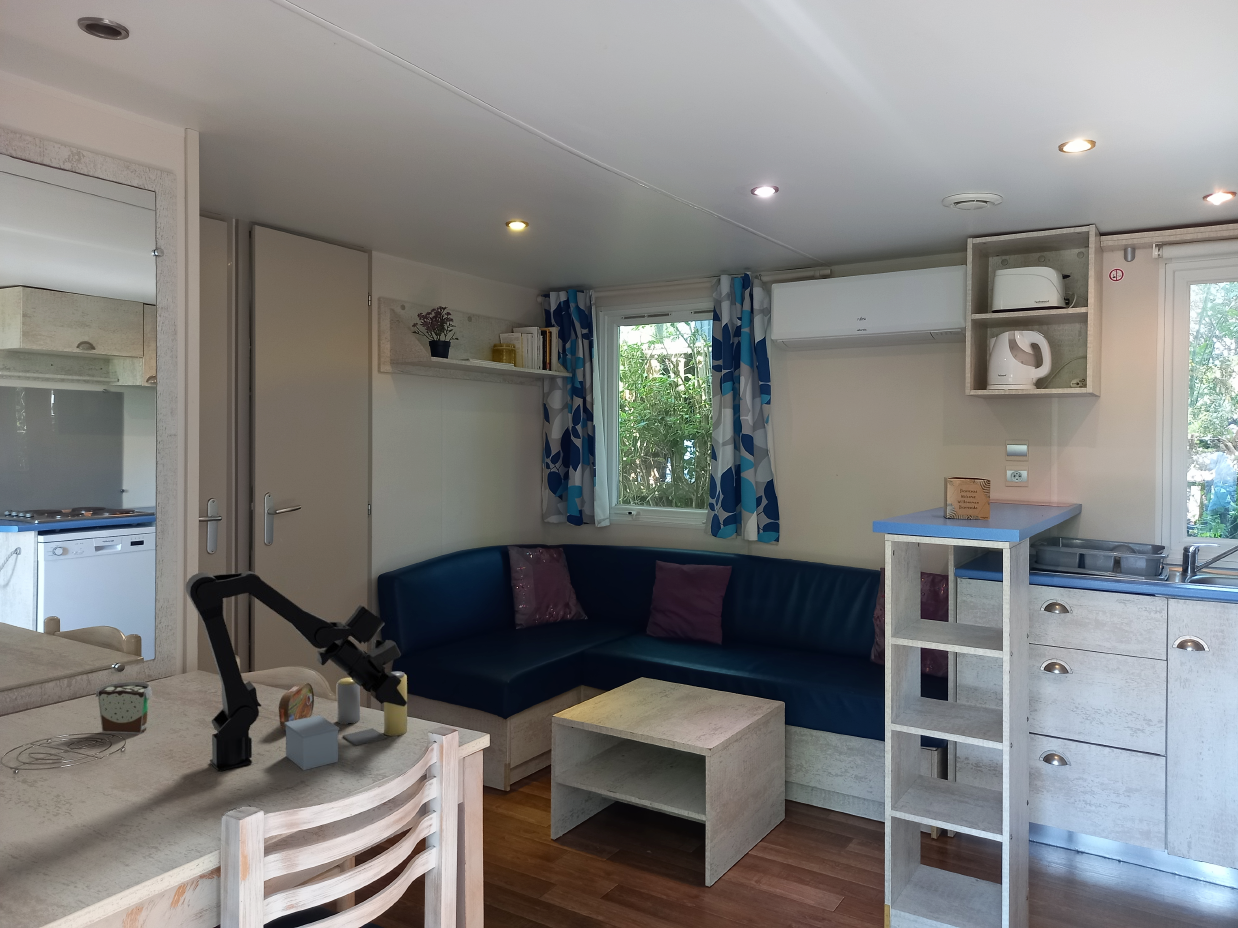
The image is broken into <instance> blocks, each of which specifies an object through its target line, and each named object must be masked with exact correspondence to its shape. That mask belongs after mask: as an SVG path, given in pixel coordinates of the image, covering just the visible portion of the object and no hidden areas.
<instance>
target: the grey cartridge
mask: <svg viewBox="0 0 1238 928" xmlns="http://www.w3.org/2000/svg"><path fill="white" fill-rule="evenodd" d="M336 685H337V686H336V687H337V688H336V689H337V691H336V693H337V695H336V696H337V723H338V724H339V723H340V725H349V724H348V723H353V724H355V723H354V722H357V721H359V720H360V721H361V687H360V686H359V685H358V684H356V683H355V682H354V681H353V680H352V678H351V677H345V678H344V677H343V678H341V679H339V681H338V682H337V684H336ZM360 721H359V722H360ZM357 723H358V722H357Z"/></svg>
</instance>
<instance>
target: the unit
mask: <svg viewBox="0 0 1238 928" xmlns="http://www.w3.org/2000/svg"><path fill="white" fill-rule="evenodd" d="M284 725H285V726H286V730H285V756H286V757H287V759H289V760H291V761H292V762H293V763H294V764H295V765H297V767H299V768H301V769H302V771H307V770H310V769H314V768H317V767H322V766H326V765H330V764H333V763H338V762H339V745H338V744H339V741H338V740H339V739H338V738H339V735H338V734H339V733H338V731H340V727H339V726H337V725H336V724H334V723H332V721H330V720H328V719H326V718H324V716H322V715H320V714H319V715H313V716H310V717H308V718H304V719H299V720H294V721H289V722H285V723H284Z"/></svg>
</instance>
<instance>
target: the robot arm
mask: <svg viewBox="0 0 1238 928" xmlns="http://www.w3.org/2000/svg"><path fill="white" fill-rule="evenodd" d="M185 592H186V594H187V596H188V598H189V599H190V602H191V604H192V606H193V607H194V609H195V610H196V612H197V614H198V616H199V617H200V619H201V621H202V624H203V627H204V631H205V634H206V638H207V641H208V644H209V648H210V650H211V653H212V657H213V660H214V662H215V666H216V670H217V673H218V675H219V679H220V682H221V702H222V703H221V704H222V709H221V710H219V712H218V713H217V714H216V715H215V716H214V717H213V718H212V719H211V723H212V726H213V728H214V730H215V731H216V733H213V734H211V746H212V748H211V749H212V750H211V751H212V752H211V754H212V755H211V756H212V757H211V758H212V759H210V760H209V763H210V765H212V767H214V768H215V769H216V771H218V772H221V771H222V772H223V771H226V770H229V769H233V768H234V769H235V768H238V767H243V766H247V765H252V764H253V760H252V759H251V758H252V757H253V754H252V753H253V751H252V749H253V745H252V742H253V740H252V737H251V736H250V729H251V726H252V725H253V724H254V723H255V722H256V721H257V719H258V717H259V715H260V710H259V707H260V708H261V707H262V704H261V703H260V702H259V700H258V694H257V689H256V688H257V687H256V686H255V685H254V684H253V683H252V682H251V681H247V682H244V680H243V676H242V673H241V671H240V667H239V663H238V660H237V657H236V654H235V650H234V648H233V644H232V640H231V638H230V637H231V636H230V634H229V632H228V631H229V630H228V628H227V624H226V621H225V618H224V599H228V598H232V597H236V596H239V595H244V594H249V595H251V596H252V597H254V598H255V599H257V600H258V601H259V602H260V603H262V604H263V605H265V606H266V607H267V608H269V609H270V610H271V611H273V613H274V612H275V613H276V614H277V615H278V616H280V617H282V618H283V619H284V620H286V621H287V622H288V623H289V624H290V625H291V626H292V627H293V628H294V629H295V630H296V631H297V633H298V634H299V635H300V636H301V637H302V638H303V639H304V640H305V641H306V642H307V643H308V644H310V645H311V646H313V647H314V648H315V649H317V652H316V653H317V660H316V662H318V664H319V665H321V666H325V665H326V664H327V663H328V661H329V660H330V662H331V663H332V664H334V665H335V666H336V667H338V669H340V670H341V671H342V672H344V673H345V674H346V675H348V676H349V678H352V680H353V681H354V682H355V683H356V684H358V685H359V686H360V688H361V687H362V689H363V690H365V691H366V692H368V693H370V696H371V697H372V698H373V699H374V700H375V701H377V702H379V703H380V705H382V704H384V702H386V703H391V704H395V705H399V706H403V707H404V706H405V705H406V704H407V705H408V701H407V702H406V700H405V699H404V697H403V696H402V695H401V693H400V692H399V690H398V689H397V687H398V686H399V684H400V683H401V680H400V679H399V678H398V677H397V676H396V675H394V674H393V673H391V672H392V671H387V672H386V667H385V666H386V665H388V664H389V663H391V662H393V661H394V660H397V659H399V658H400V657H401V655H402V654H401V651H400V649H399V648H398V645H397V644H396V642H395V641H393V640H392V639H389V640H388V639H386V640H385V641H384V640H382V639H380V638H377V639H375V640H373V641H372V648H371V649H370V650H371V651H369V652H366V650H362V648H360V647H358V646H357V645H356V644H355V643H354V642H357V644H360V645H362V644H369V642H370V641H371V640H372V639H373V638H374V637H375V635H376V634H378V632H379V631H380V630H381V629H382V627H383V626H385V622H384V621H383V619H381V618H380V617H379V616H378V615H376V614H375V613H373V612H371V611H370V610H369V609H368V608H366V607H365V606H364V605H362V604H360V605H359V606H357V608H356V609H355V610H354V612H353V613H352V615H351V616H350V617H349V618H348V619H347V620H346V621H345V622H344V623H343V622H341V621H328V620H326V619H325V618H323V617H321V616H319V615H317V614H315V613H312V612H310V611H308V610H305V609H303V608H301V607H300V606H298V605H297V604H296V603H294V602H292V601H291V600H290V599H289V598H287V597H286V596H285V595H283V594H282V593H280V592H279V591H278V590H277V589H275V588H274V587H272V586H271V585H270V584H268V583H267V582H265V581H264V580H263V579H262V578H261V577H260V576H259V575H258V574H256V573H255V572H253V571H250V570H248V571H243V572H237V573H222V574H215V575H212V574H210V573H208V572H198V573H196V574H193V575H191V576H190V577H189V578H188V579H187V582H186V583H185ZM349 638H352V639H353V640H354V642H353V641H352V640H351V639H349ZM318 649H319V650H318Z"/></svg>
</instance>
